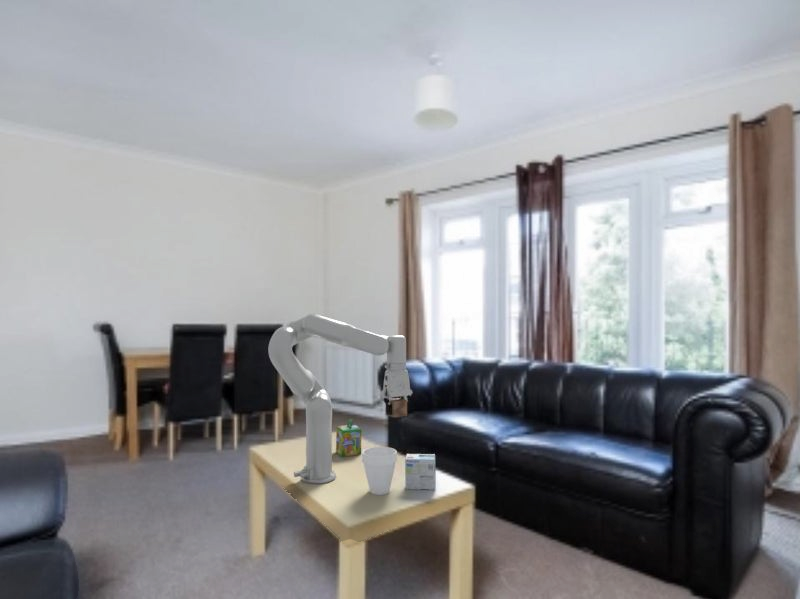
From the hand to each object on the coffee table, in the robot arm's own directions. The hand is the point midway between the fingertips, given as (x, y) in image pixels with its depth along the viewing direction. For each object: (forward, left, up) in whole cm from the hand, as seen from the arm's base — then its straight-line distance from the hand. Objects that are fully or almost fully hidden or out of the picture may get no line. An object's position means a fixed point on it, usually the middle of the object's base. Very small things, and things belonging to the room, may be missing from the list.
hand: (396, 412), depth 182 cm
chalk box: (-2, +34, -23) cm, 41 cm away
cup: (-16, -12, -23) cm, 31 cm away
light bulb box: (-2, -17, -23) cm, 29 cm away
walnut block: (0, 0, -1) cm, 1 cm away
